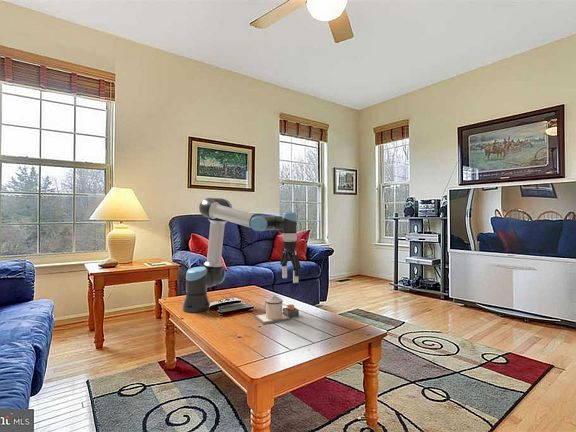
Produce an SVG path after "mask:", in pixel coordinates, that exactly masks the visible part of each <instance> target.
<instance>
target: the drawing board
mask: <svg viewBox="0 0 576 432" xmlns="http://www.w3.org/2000/svg"><path fill="white" fill-rule="evenodd" d="M253 318H255V319H256V320H257V321H258V322H260V323H261V324H262V325H267V324H268V325H269V324H274V323H279V322H287V321H291V320H292V318H290V317H288V316H286V315H285V314H283V312H282V318H281V319H278V320H270V319H267V318H266V313H261V314H254V315H253Z"/></svg>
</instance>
